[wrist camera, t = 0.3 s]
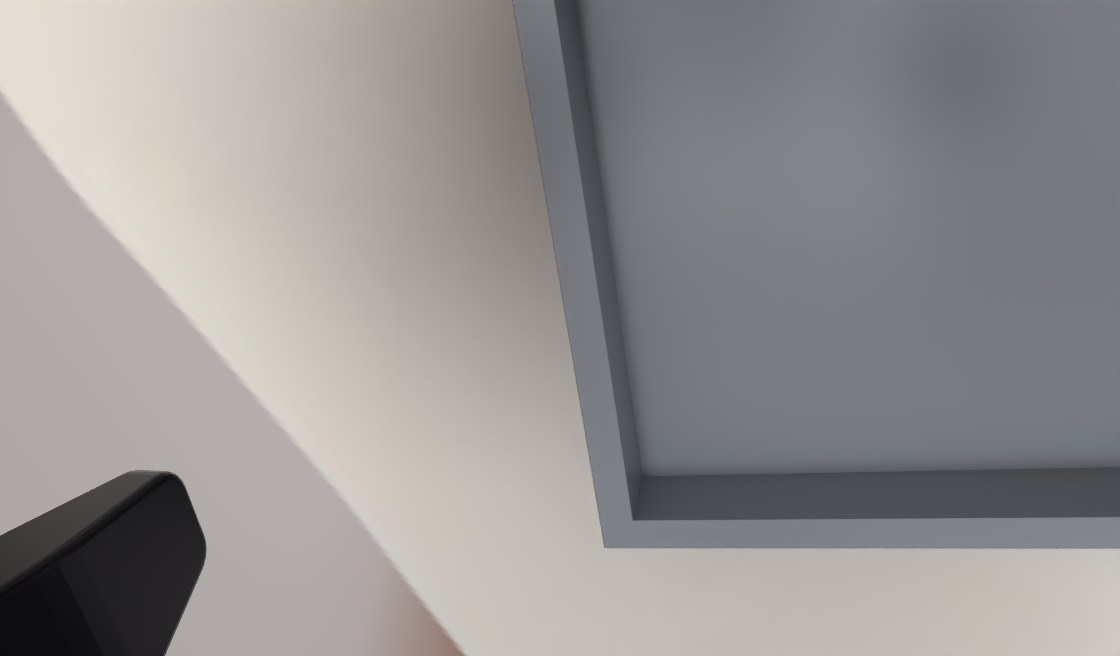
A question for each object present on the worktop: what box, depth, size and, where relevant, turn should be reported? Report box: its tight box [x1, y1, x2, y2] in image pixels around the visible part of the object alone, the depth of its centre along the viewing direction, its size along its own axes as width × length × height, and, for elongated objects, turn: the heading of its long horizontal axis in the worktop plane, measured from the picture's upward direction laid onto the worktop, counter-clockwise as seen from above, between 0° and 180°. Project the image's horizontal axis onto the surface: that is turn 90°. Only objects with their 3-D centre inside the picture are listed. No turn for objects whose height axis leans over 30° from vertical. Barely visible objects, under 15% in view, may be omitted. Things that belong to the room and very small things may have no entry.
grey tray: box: [512, 0, 1120, 548], centre depth 19 cm, size 14×14×2 cm
